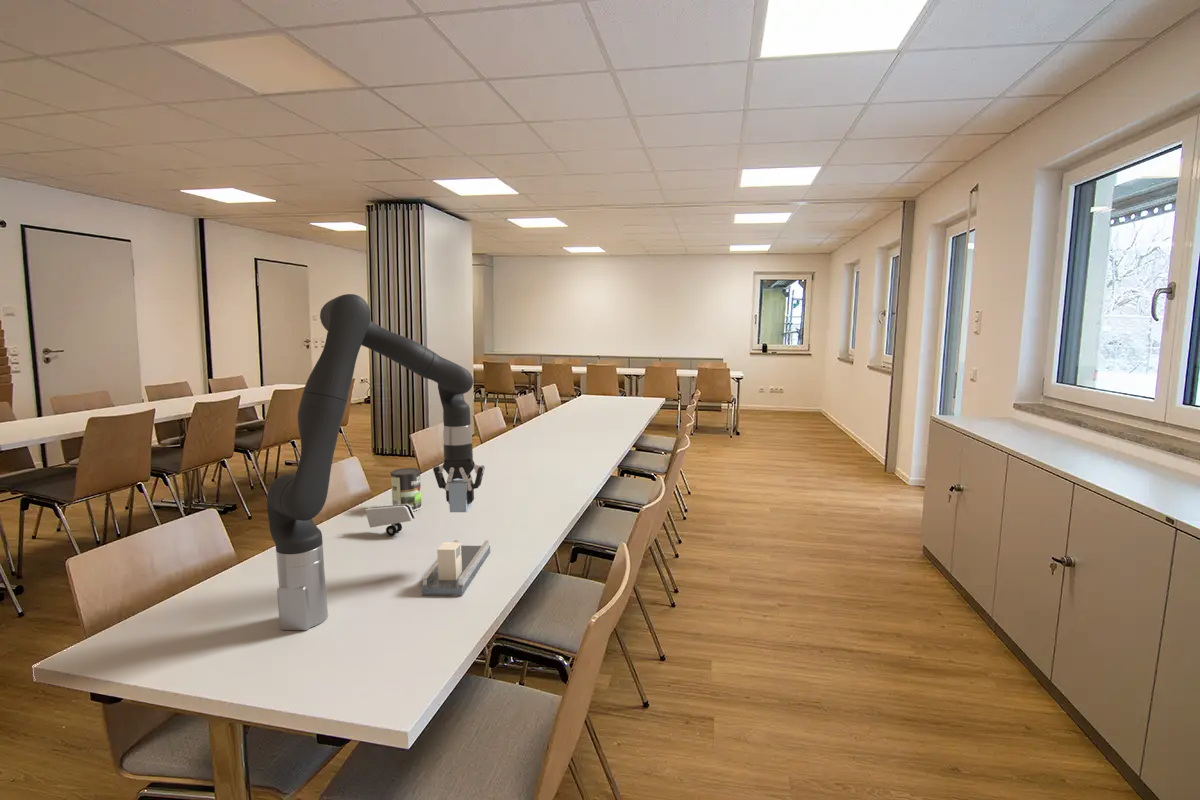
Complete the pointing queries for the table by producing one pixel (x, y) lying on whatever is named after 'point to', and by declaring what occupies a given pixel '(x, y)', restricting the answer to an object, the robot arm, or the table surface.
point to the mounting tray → (470, 567)
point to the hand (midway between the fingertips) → (460, 502)
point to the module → (458, 496)
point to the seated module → (449, 561)
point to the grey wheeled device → (390, 516)
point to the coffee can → (406, 487)
